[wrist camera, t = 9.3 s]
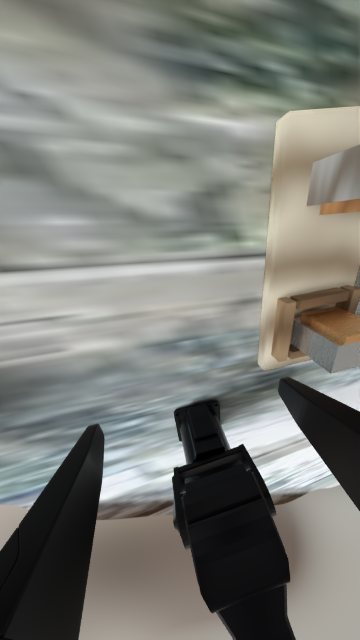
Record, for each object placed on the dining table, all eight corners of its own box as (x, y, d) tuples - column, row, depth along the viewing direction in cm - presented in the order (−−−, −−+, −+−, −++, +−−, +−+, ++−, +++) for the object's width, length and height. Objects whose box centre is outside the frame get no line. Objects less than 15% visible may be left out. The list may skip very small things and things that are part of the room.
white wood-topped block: (323, 331, 23) (377, 361, 18) (286, 339, 23) (330, 373, 17) (330, 302, 22) (393, 326, 16) (290, 310, 21) (341, 338, 16)
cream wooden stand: (323, 348, 27) (385, 387, 20) (257, 363, 26) (298, 410, 19) (385, 113, 16) (562, 29, 9) (276, 121, 15) (387, 33, 8)
